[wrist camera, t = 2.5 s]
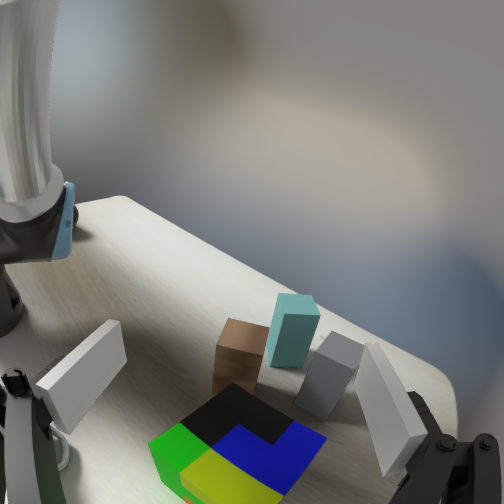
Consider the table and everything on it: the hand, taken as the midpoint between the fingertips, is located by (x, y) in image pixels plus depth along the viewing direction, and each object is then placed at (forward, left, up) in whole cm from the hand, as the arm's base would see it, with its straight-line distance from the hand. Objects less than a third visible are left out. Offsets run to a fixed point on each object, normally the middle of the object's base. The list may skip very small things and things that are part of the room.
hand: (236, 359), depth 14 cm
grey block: (+7, +16, -20) cm, 27 cm away
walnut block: (-4, +13, -20) cm, 24 cm away
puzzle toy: (+1, 0, -20) cm, 20 cm away
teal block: (0, +23, -20) cm, 31 cm away
